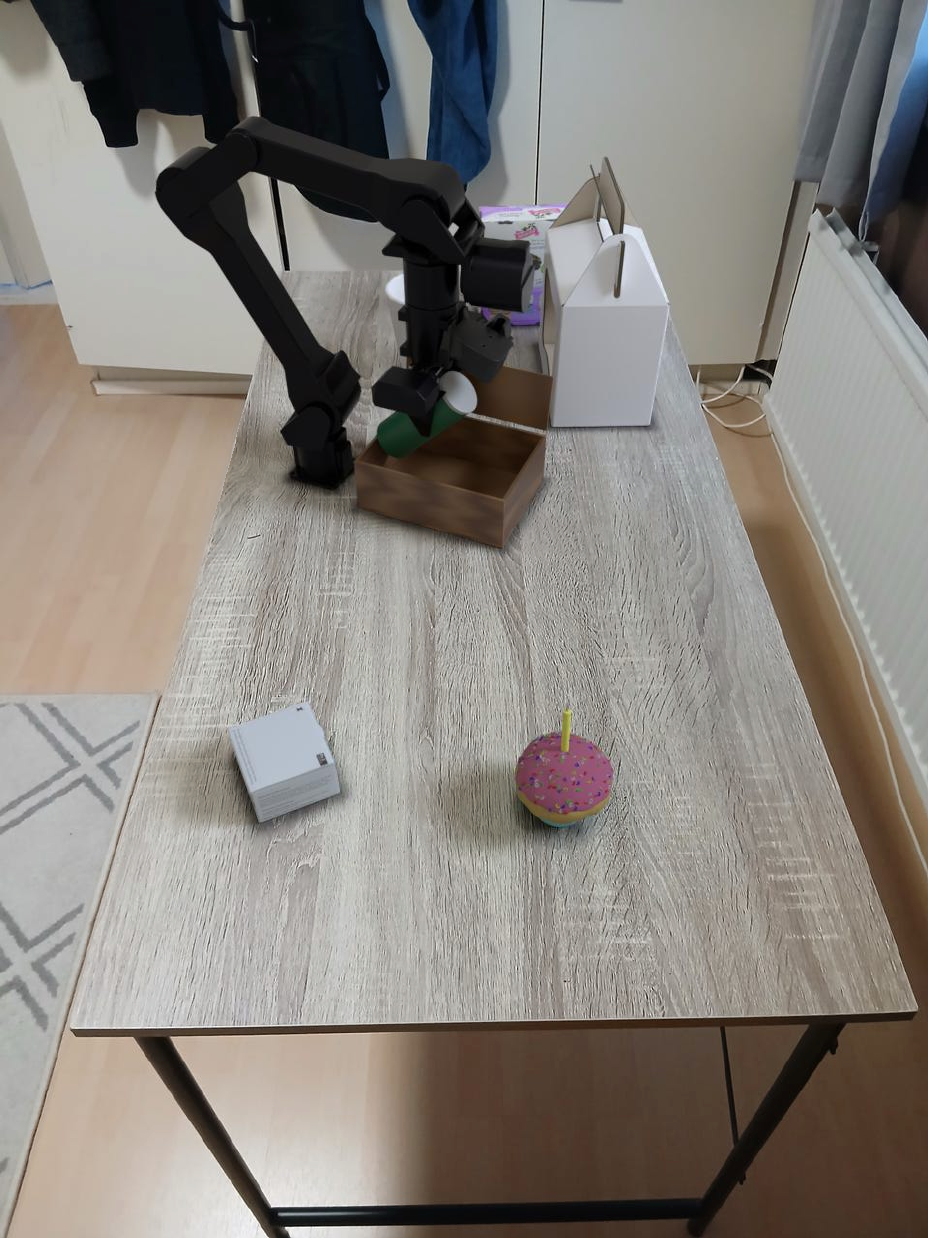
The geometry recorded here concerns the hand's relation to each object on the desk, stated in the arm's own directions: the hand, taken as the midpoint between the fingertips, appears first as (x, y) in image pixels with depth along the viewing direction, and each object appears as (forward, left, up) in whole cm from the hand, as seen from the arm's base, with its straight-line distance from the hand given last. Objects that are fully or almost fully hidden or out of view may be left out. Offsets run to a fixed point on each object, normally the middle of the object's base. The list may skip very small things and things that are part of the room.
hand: (435, 424), depth 108 cm
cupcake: (+29, -37, -10) cm, 48 cm away
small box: (+5, -44, -10) cm, 45 cm away
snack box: (+2, 0, -10) cm, 10 cm away
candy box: (-6, +45, -10) cm, 46 cm away
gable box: (+10, +31, -10) cm, 34 cm away
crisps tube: (-6, 0, -4) cm, 7 cm away
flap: (+2, +7, +1) cm, 8 cm away
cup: (-13, +24, -10) cm, 29 cm away
